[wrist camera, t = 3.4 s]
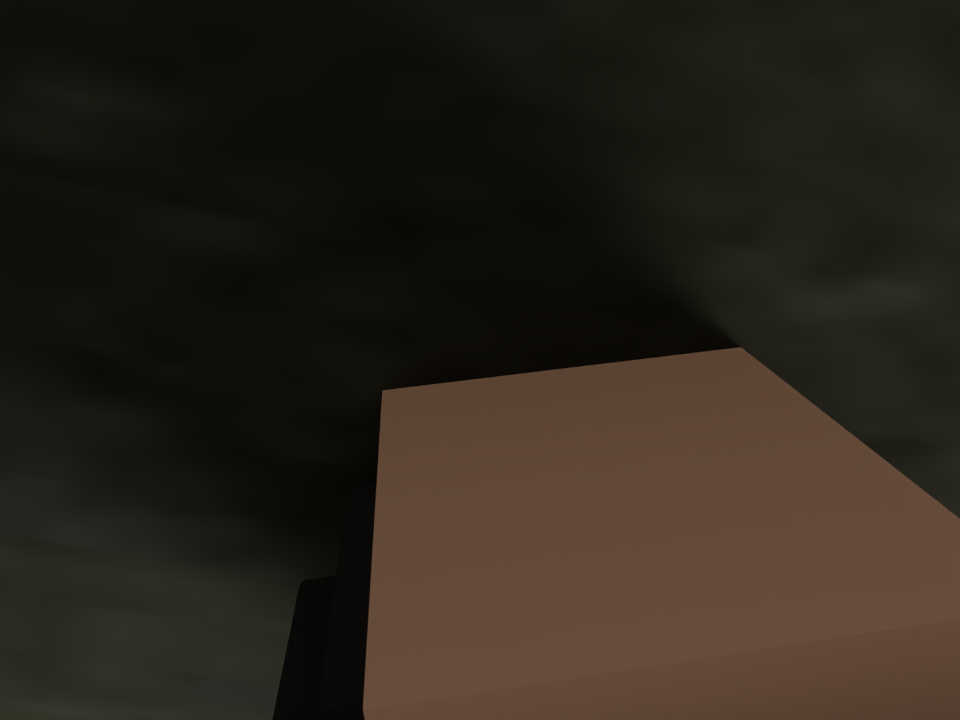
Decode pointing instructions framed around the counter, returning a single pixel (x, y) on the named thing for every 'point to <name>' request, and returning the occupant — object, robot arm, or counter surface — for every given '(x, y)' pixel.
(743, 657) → the cube
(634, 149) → the counter surface
